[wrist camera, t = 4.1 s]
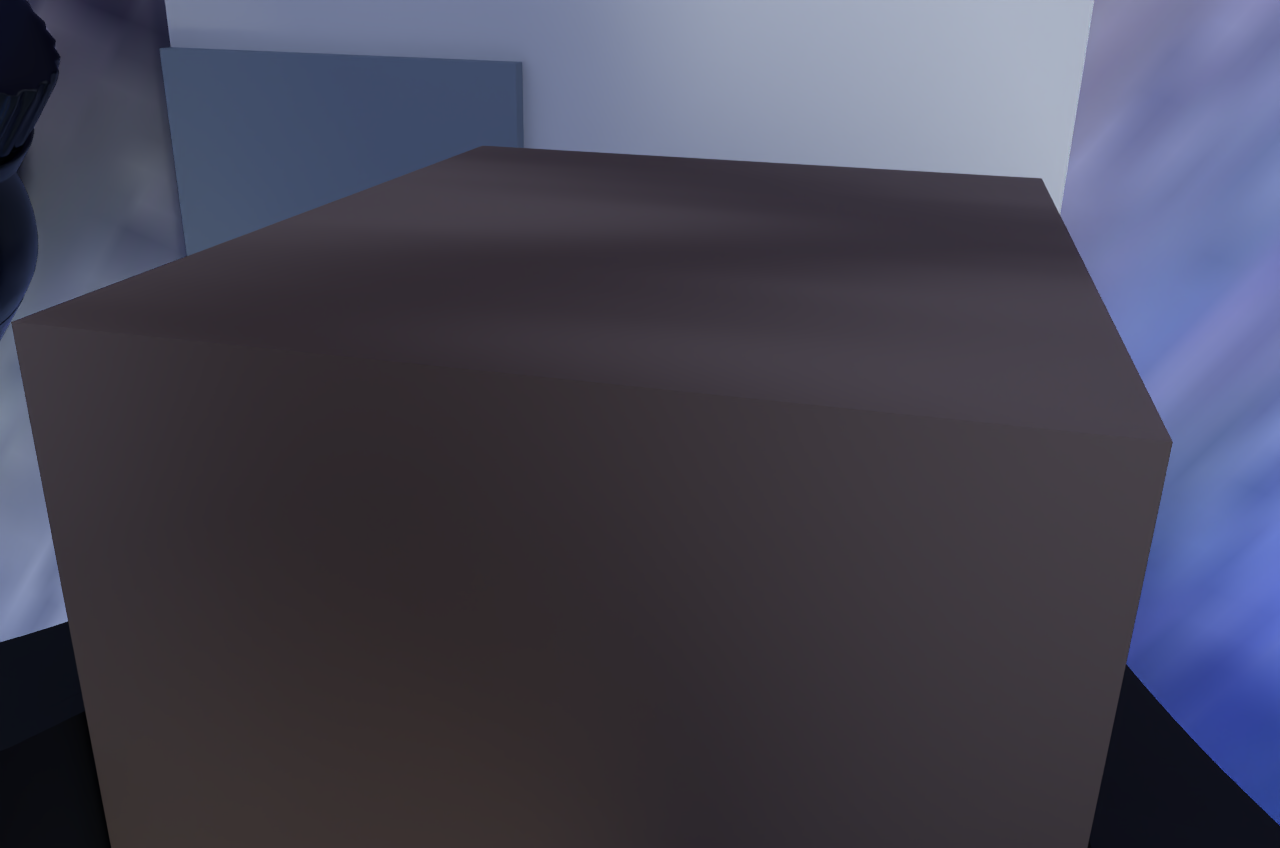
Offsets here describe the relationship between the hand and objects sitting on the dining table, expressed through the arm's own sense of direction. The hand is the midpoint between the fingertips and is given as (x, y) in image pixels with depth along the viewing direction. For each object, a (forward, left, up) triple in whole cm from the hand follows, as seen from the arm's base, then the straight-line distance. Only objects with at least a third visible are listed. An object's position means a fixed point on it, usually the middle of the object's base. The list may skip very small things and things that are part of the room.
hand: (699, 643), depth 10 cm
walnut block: (0, 0, -1) cm, 1 cm away
